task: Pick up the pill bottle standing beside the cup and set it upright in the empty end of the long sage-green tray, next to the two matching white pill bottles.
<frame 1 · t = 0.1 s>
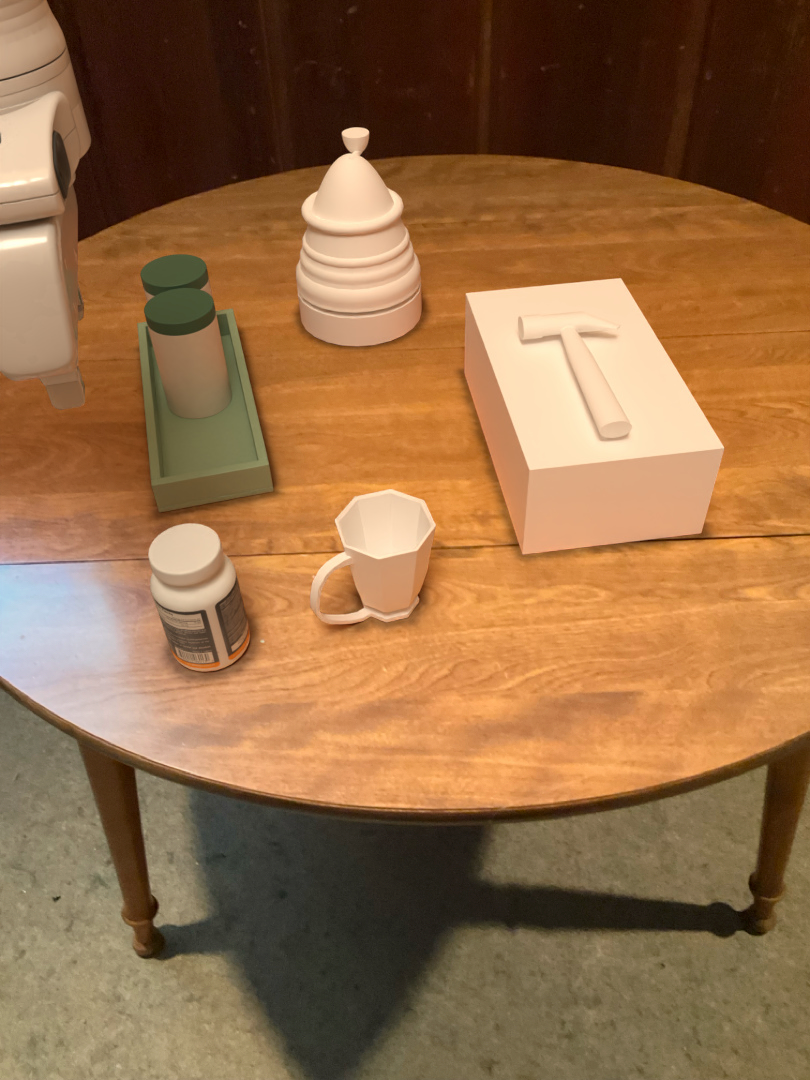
hand: (71, 356, 56), 21 cm above the table, tool pointing down, fingers open, 8 cm apart
cup: (374, 611, 69), on the table
white bottle a: (200, 399, 87), resting on bottle tray
bottle tray: (202, 413, 86), on the table
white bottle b: (194, 362, 92), resting on bottle tray
pill bottle: (212, 645, 67), on the table
hammer embossed box: (570, 446, 82), on the table
honey pot: (361, 314, 98), on the table
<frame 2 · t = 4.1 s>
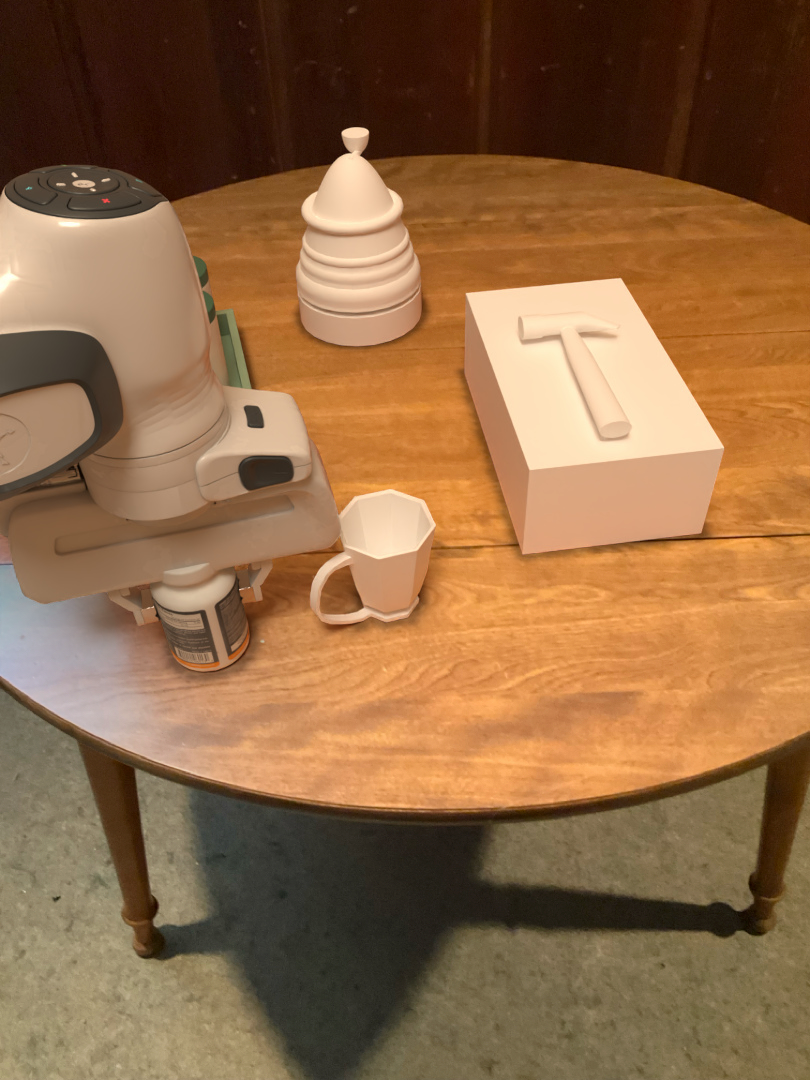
hand: (201, 606, 64), 4 cm above the table, tool pointing down, fingers closed on pill bottle, 6 cm apart
pill bottle: (211, 645, 67), on the table, touching gripper
everything else where it was.
when the fingers open (4 cm above the table, at t = 13.5 s): pill bottle stays where it is, resting on bottle tray.
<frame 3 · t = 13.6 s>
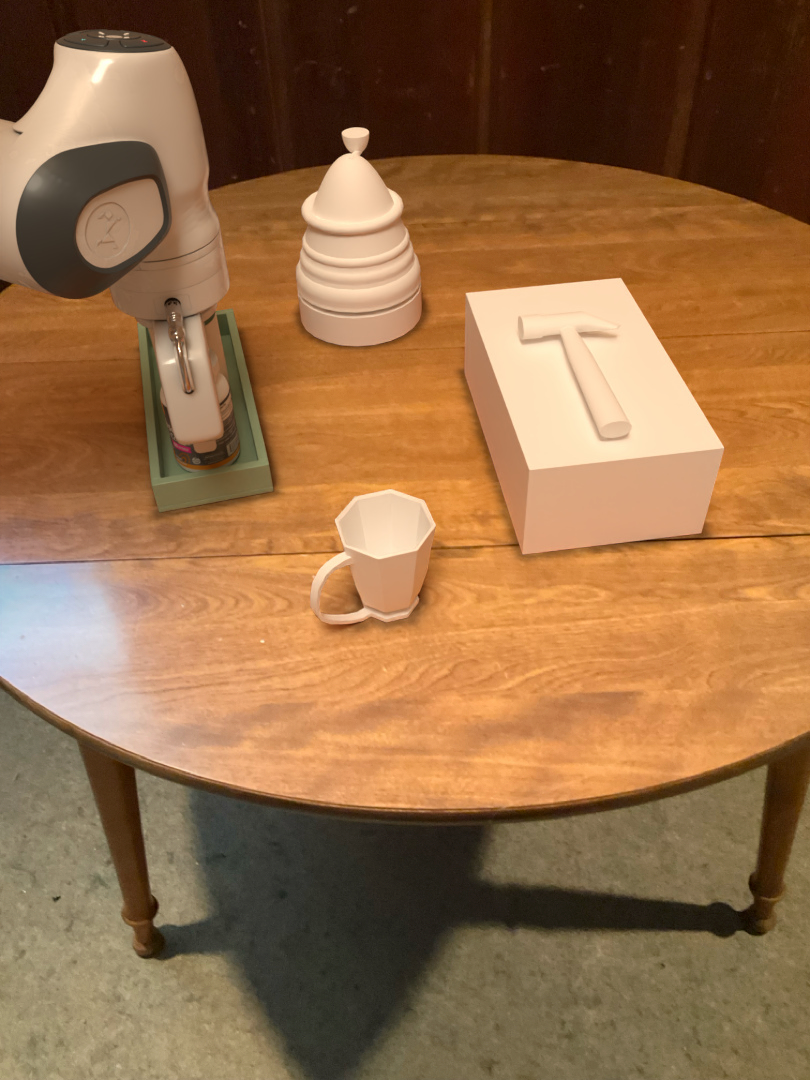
hand: (201, 419, 78), 4 cm above the table, tool pointing down, fingers open, 6 cm apart
white bottle a: (200, 399, 87), point 1 cm above the table, touching bottle tray, gripper
pill bottle: (209, 457, 81), resting on bottle tray
everything else where it was.
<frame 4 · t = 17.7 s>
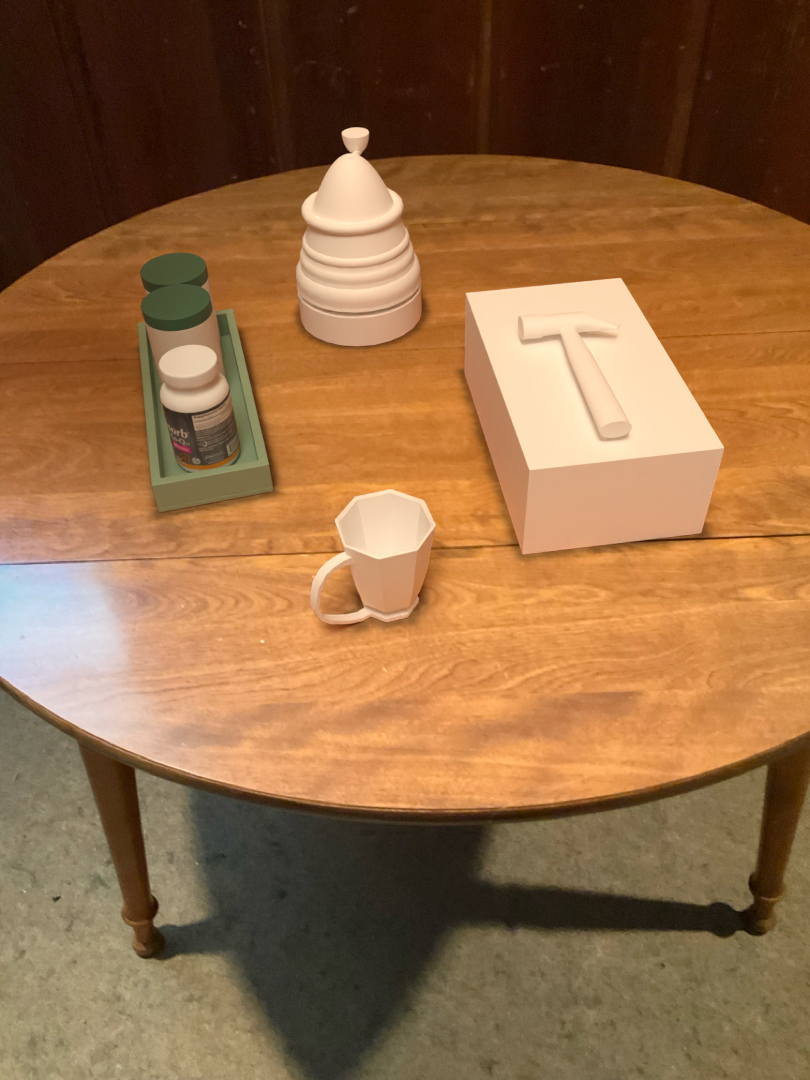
white bottle a: (197, 395, 88), resting on bottle tray
everything else where it was.
at the end: pill bottle inside the target area in the bottle tray (0.4 cm from its centre), point 0.3 cm above the bottle tray's base; pill bottle tilted 0°; the gripper is holding nothing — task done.
